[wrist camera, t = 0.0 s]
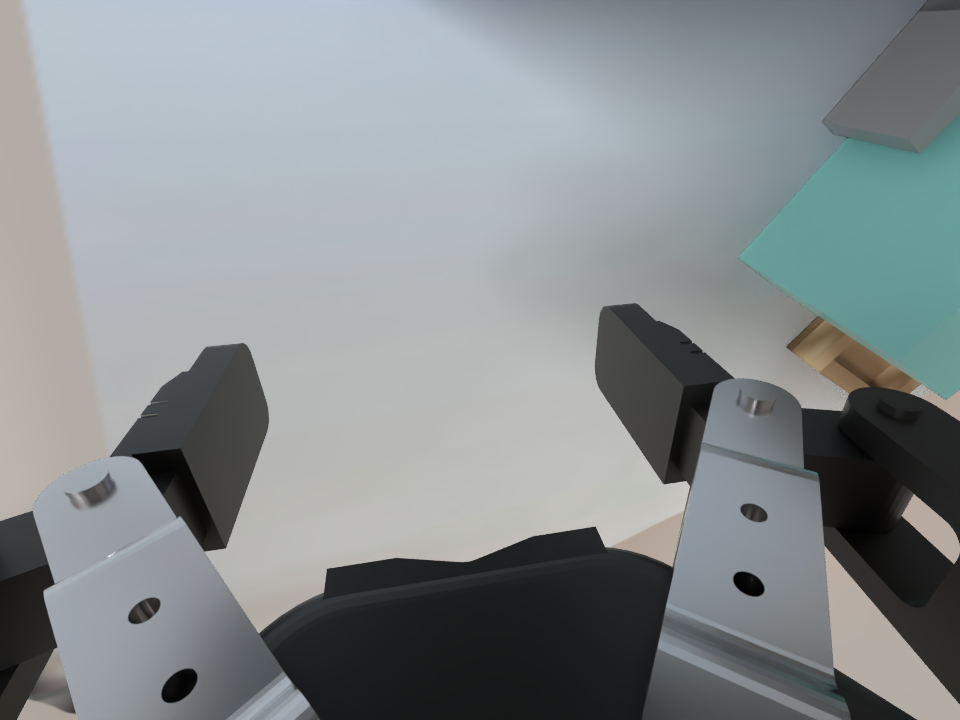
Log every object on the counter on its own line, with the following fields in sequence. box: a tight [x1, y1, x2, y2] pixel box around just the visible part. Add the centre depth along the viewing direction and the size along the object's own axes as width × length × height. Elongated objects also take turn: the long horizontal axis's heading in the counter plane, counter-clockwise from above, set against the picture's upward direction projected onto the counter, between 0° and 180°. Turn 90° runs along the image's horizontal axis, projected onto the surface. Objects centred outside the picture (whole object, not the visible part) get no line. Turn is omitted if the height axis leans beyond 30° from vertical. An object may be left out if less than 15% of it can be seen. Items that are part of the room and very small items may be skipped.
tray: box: [787, 316, 921, 394], centre depth 34 cm, size 17×10×2 cm, turn 147°
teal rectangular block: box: [738, 114, 960, 400], centre depth 25 cm, size 12×5×12 cm, turn 147°
